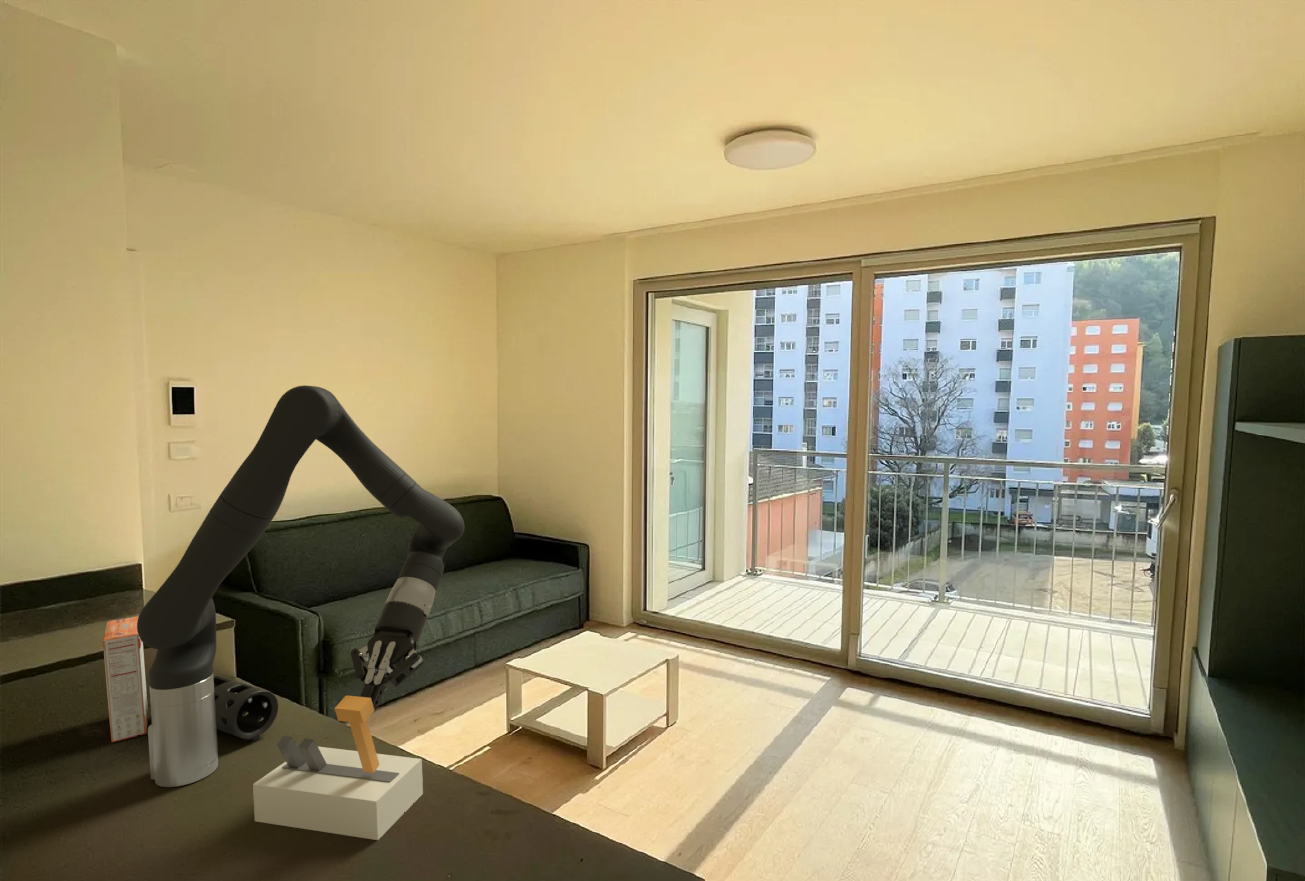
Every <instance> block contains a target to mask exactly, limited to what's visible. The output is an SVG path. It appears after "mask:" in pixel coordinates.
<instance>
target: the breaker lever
mask: <svg viewBox="0 0 1305 881" xmlns="http://www.w3.org/2000/svg"><path fill="white" fill-rule="evenodd" d="M334 711H335V714H336V717H337V722H345V723H348V724H349V726H350V729H351V730H350V731H351V734H352V738H353V740H354V744H355V747H356V751H358V754H359V758H360V761H361V764H362V768H363V771H364V772H371V773H374V772H375V770H376V769H377V768H378V766H379V761H378V757H377V754H378V753H377V751H376V748H375V743H374V740H373V737H372V734H371V731H370V730H371V729H370V726H369V722H368V719H369V718H370V717H371V715H372V714H373V713H374V711H375V709H374V707H373V703H372V699H371V698H367V697H360V696H357V695H356V696H354V695H345V696H344V697H343V698H342V699H341V701H340V702H339V703H338V704H337V705H336V706H335V707H334Z"/></svg>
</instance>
